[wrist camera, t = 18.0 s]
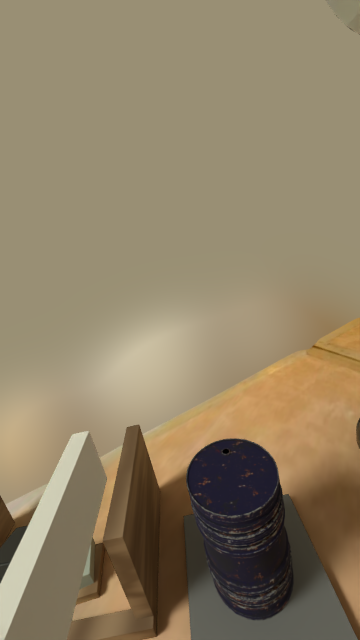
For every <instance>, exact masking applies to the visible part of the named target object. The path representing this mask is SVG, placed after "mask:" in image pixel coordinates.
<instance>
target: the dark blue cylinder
mask: <svg viewBox="0 0 360 640" xmlns="http://www.w3.org/2000/svg"><path fill="white" fill-rule="evenodd" d="M186 482H187V487H188V491H189V494H190V498H191V505H192V509H193V512H194V515H195V520H196V523H197V526H198V528H199V530H200V532H201V534H202V536H203V538H204V548H205V553H206V559H207V563H208V567H209V570H210V573H211V576H212V578H213V581H214V585H215V588H216V590H217V592H218V594H219V596H220V598H221V599H222V601H223V602H224V603H225V605H226V606H227V607H228V608H229V609H230V610H232V611H233V612H234V613H235V614H237V615H239V616H241V617H243V618H246V619H249V620H255V621H258V620H266V619H269V618H272V617H274V616H275V615H277V614H278V613H279V612H281V611H282V610H283V609H284V607H285V606H286V605H287V603H288V601H289V599H290V597H291V594H292V591H293V584H294V574H293V567H292V554H291V547H290V543H289V540H288V535H287V531H286V528H285V526H284V520H285V507H284V501H283V494H282V488H281V485H280V480H279V474H278V468H277V465H276V462H275V461H274V459H273V457H272V456H271V455H270V453H269V452H268V451H266V450H265V449H264V448H263V447H261V446H260V445H258V444H256V443H254V442H251V441H248V440H244V439H223V440H219V441H216V442H213V443H211V444H209V445H207V446H205V447H204V448H203V449H201V450H200V451H199V452H198V453H197V454H196V455H195V456H194V457H193V459H192V461H191V462H190V464H189V467H188V470H187V475H186Z"/></svg>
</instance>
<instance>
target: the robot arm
mask: <svg viewBox="0 0 360 640" xmlns="http://www.w3.org/2000/svg"><path fill="white" fill-rule="evenodd" d="M326 1H327V3H328V4H329V6H330V7H331V9H332V10H333V12H334V13H335V15H336V16H337V17H338V18H339V19H340V20H341V21H342V22H343V23H344V24H345V25H346V26H347V27H349V28H350V29H351V30H353V31H355V32H356V33H358V34H360V0H326ZM356 435H357V443H358V446H359V448H360V418H359V420H358V423H357V427H356ZM106 481H107V477H106V474H105V471H104V469H103V466H102V464H101V461H100V458H99V456H98V453H97V450H96V448H95V445H94V443H93V440H92V438H91V435H90V432H89V431H86V432H81V433H77V434H73V435H72V436H71V438H70V440H69V443H68V444H67V447H66V449H65V451H64V453H63V455H62V457H61V459H60V461H59V463H58V465H57V467H56V469H55V472H54V473H53V476H52V478H51V480H50V482H49V484H48V486H47V488H46V490H45V492H44V494H43V496H42V498H41V500H40V502H39V504H38V507H37V509H36V511H35V513H34V515H33V517H32V519H31V521H30V523H29V525H28V526H24V527H19V528H16V529H15V531H14V532H13V533H12V534H11V535H10V537H9V538H8V539H7V540H6V541H5V543H4V544H3V545H2V546H1V548H0V640H67V637H68V633H69V629H70V625H71V621H72V617H73V613H74V609H75V605H76V601H77V597H78V593H79V589H80V585H81V581H82V577H83V573H84V569H85V565H86V561H87V557H88V553H89V549H90V545H91V541H92V537H93V533H94V529H95V525H96V521H97V517H98V513H99V509H100V505H101V501H102V497H103V493H104V489H105V485H106Z"/></svg>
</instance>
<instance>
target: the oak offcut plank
mask: <svg viewBox="0 0 360 640" xmlns="http://www.w3.org/2000/svg"><path fill="white" fill-rule="evenodd" d="M104 551H105V546H104V544H103V543H100V544H96V545H95V561H94V583H93V584H90V585H88V586H86V587H84V588H82V589H80V590H79V593H78V597H77V601H76V605H77V604H80V603H83V602H86V601H89V600H92V599H95V598H99V595H100V586H101V577H102V568H103V560H104Z"/></svg>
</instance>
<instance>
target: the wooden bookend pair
mask: <svg viewBox="0 0 360 640" xmlns="http://www.w3.org/2000/svg"><path fill="white" fill-rule="evenodd" d="M159 520H160V489H159V486H158V483H157V479H156V476H155V473H154V470H153V467H152V464H151V460H150V457H149V454H148V451H147V448H146V445H145V441H144V438H143V435H142V432H141V429H140V426H139V425H135V426H130V427H127V429H126V434H125V438H124V443H123V448H122V453H121V457H120V462H119V467H118V471H117V476H116V481H115V486H114V490H113V495H112V500H111V504H110V509H109V514H108V518H107V523H106V528H105V533H104V537H103V543H104V545H105V548H106V550H107V552H108V555H109V557H110V559H111V562H112V564H113V566H114V569H115V571H116V574H117V576H118V578H119V581H120V583H121V585H122V588H123V590H124V592H125V595H126V597H127V599H128V602H129V604H130V607H131V609H130V610H125V611H120V612H115V613H110V614H106V615H101V616H96V617H91V618H86V619H81V620H76V621H72V622H71V625H70V629H69V633H68V637H67V640H142V639H147V638H152V637H156V633H157V595H158V558H159ZM14 523H15V522H14V520H13V518H12V516H11V514H10V513H9V511H8V509H7V507H6V505H5V503H4V502H3V500H2V498H1V496H0V548H1V546H2V545H3V544H4V542H5V540H6V538H7V536H8V534H9V532H10V531H11V529H12V527H13V525H14Z"/></svg>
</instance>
